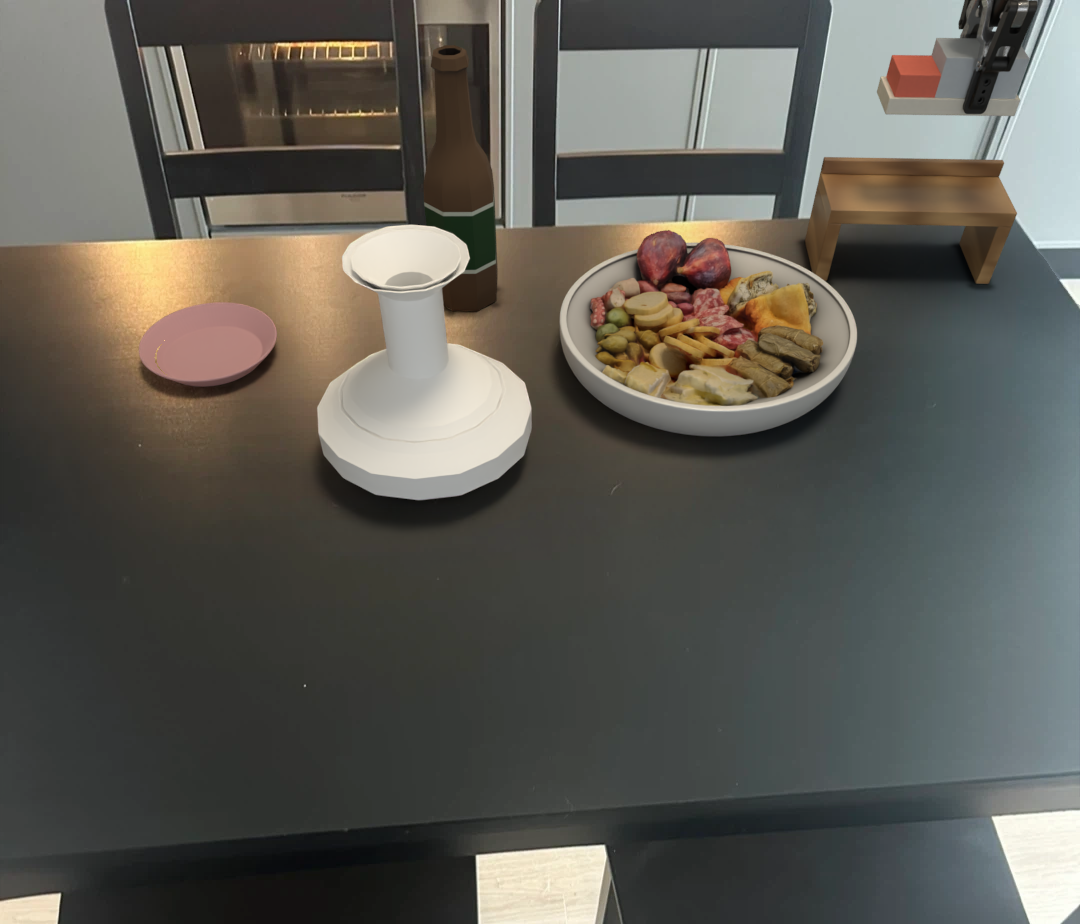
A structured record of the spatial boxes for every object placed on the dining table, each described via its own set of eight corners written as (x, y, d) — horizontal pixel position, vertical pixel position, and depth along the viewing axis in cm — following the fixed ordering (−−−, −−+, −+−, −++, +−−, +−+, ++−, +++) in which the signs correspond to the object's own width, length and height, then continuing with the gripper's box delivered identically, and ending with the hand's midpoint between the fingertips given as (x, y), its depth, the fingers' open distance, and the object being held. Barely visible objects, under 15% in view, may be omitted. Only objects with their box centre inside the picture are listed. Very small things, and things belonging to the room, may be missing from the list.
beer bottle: (420, 305, 105) (392, 59, 86) (450, 271, 109) (430, 29, 90) (483, 319, 104) (469, 72, 84) (511, 284, 108) (504, 41, 88)
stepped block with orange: (1001, 93, 98) (1021, 37, 94) (1014, 116, 94) (1035, 59, 90) (876, 92, 98) (890, 36, 94) (885, 114, 95) (900, 57, 91)
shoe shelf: (971, 243, 113) (1003, 159, 105) (988, 284, 107) (1023, 198, 100) (804, 240, 113) (823, 156, 105) (813, 280, 108) (834, 195, 100)
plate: (298, 374, 98) (293, 357, 96) (162, 412, 94) (155, 395, 93) (259, 306, 105) (255, 289, 104) (132, 339, 102) (125, 322, 100)
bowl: (900, 414, 94) (927, 343, 87) (625, 483, 88) (631, 412, 81) (760, 264, 110) (773, 195, 103) (520, 315, 104) (518, 245, 98)
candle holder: (357, 548, 83) (314, 353, 67) (304, 418, 94) (255, 223, 78) (564, 491, 87) (569, 295, 71) (490, 372, 98) (480, 179, 82)
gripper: (1105, -90, 78) (1020, 131, 92) (1057, -139, 86) (986, 71, 100) (1014, -91, 78) (943, 130, 92) (975, -139, 86) (915, 70, 100)
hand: (966, 98), depth 96 cm, fingers closed on stepped block with orange, 5 cm apart
